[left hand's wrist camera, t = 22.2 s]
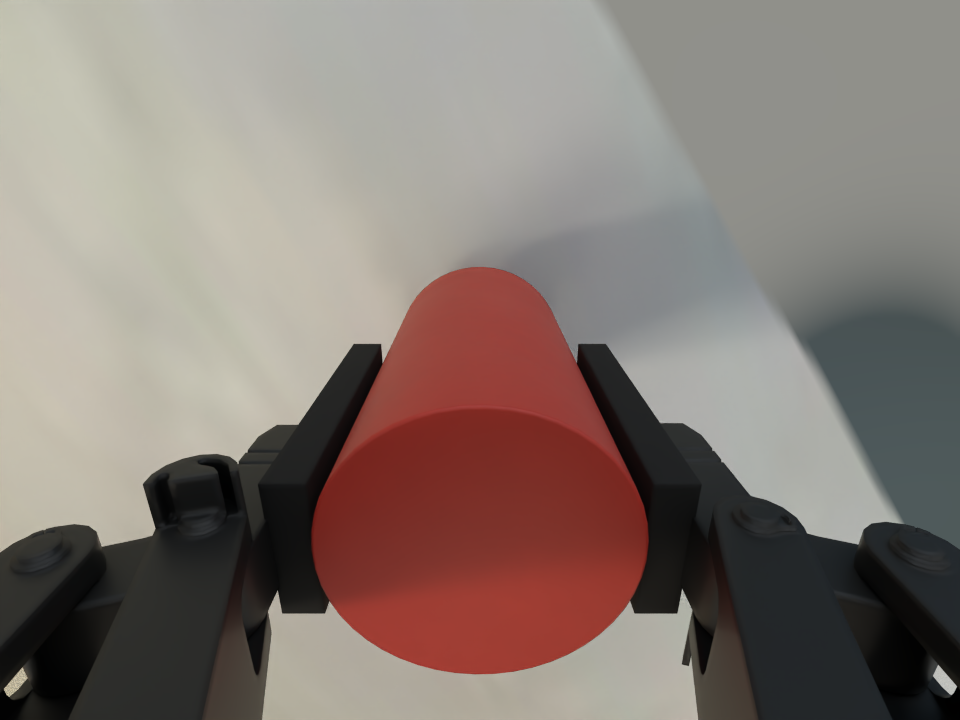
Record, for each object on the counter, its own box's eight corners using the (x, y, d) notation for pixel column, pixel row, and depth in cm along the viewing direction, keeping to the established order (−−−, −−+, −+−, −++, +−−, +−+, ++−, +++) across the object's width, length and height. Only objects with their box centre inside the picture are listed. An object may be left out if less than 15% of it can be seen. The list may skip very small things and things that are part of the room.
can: (587, 361, 18) (709, 587, 8) (462, 439, 19) (446, 715, 10) (499, 232, 16) (527, 333, 7) (369, 327, 17) (237, 524, 8)
